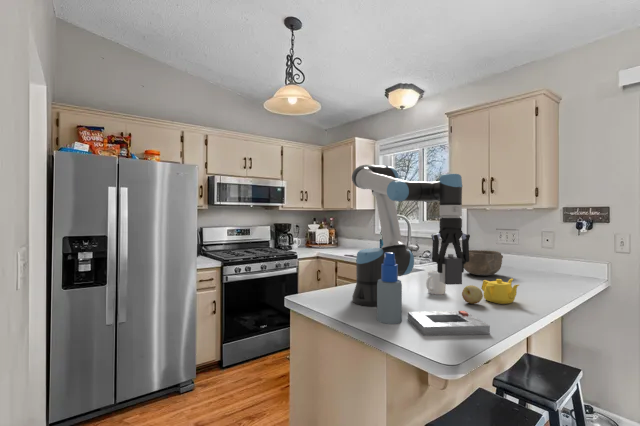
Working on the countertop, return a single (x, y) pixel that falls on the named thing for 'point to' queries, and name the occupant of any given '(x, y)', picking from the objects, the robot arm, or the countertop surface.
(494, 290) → the teapot
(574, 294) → the countertop surface
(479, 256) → the bowl
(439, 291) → the mug
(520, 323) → the countertop surface
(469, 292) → the fruit
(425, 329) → the socket plate
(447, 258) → the plug
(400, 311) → the spray bottle
